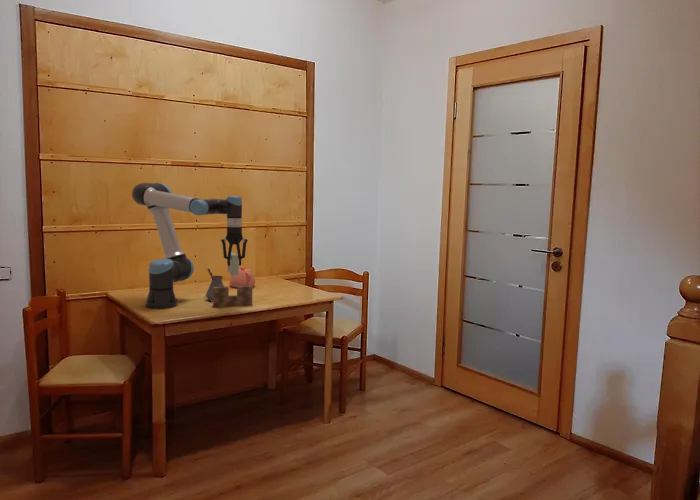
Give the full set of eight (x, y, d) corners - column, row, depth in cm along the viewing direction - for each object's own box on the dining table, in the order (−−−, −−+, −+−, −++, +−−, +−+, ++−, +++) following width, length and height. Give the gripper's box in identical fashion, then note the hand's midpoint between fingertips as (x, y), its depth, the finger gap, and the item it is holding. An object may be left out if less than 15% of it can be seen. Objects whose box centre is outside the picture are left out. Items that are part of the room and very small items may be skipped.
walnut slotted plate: (213, 307, 273) (213, 288, 272) (212, 305, 276) (213, 287, 275) (252, 305, 281) (252, 286, 279) (250, 303, 283) (251, 285, 282)
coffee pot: (230, 301, 288) (230, 274, 286) (209, 302, 282) (209, 275, 280) (217, 293, 306) (217, 267, 304) (197, 294, 300) (197, 268, 298)
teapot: (221, 284, 332) (222, 264, 330) (243, 282, 342) (244, 263, 340) (238, 290, 315) (239, 270, 314) (261, 288, 325) (262, 268, 324)
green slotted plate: (231, 275, 268) (232, 256, 267) (227, 271, 281) (227, 252, 280) (237, 275, 270) (238, 256, 268) (233, 271, 282) (233, 252, 281)
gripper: (219, 227, 262) (219, 273, 265) (251, 227, 268) (251, 272, 270) (217, 225, 269) (217, 271, 271) (248, 225, 274) (248, 270, 277)
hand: (234, 271), depth 271 cm, fingers closed on green slotted plate, 3 cm apart
